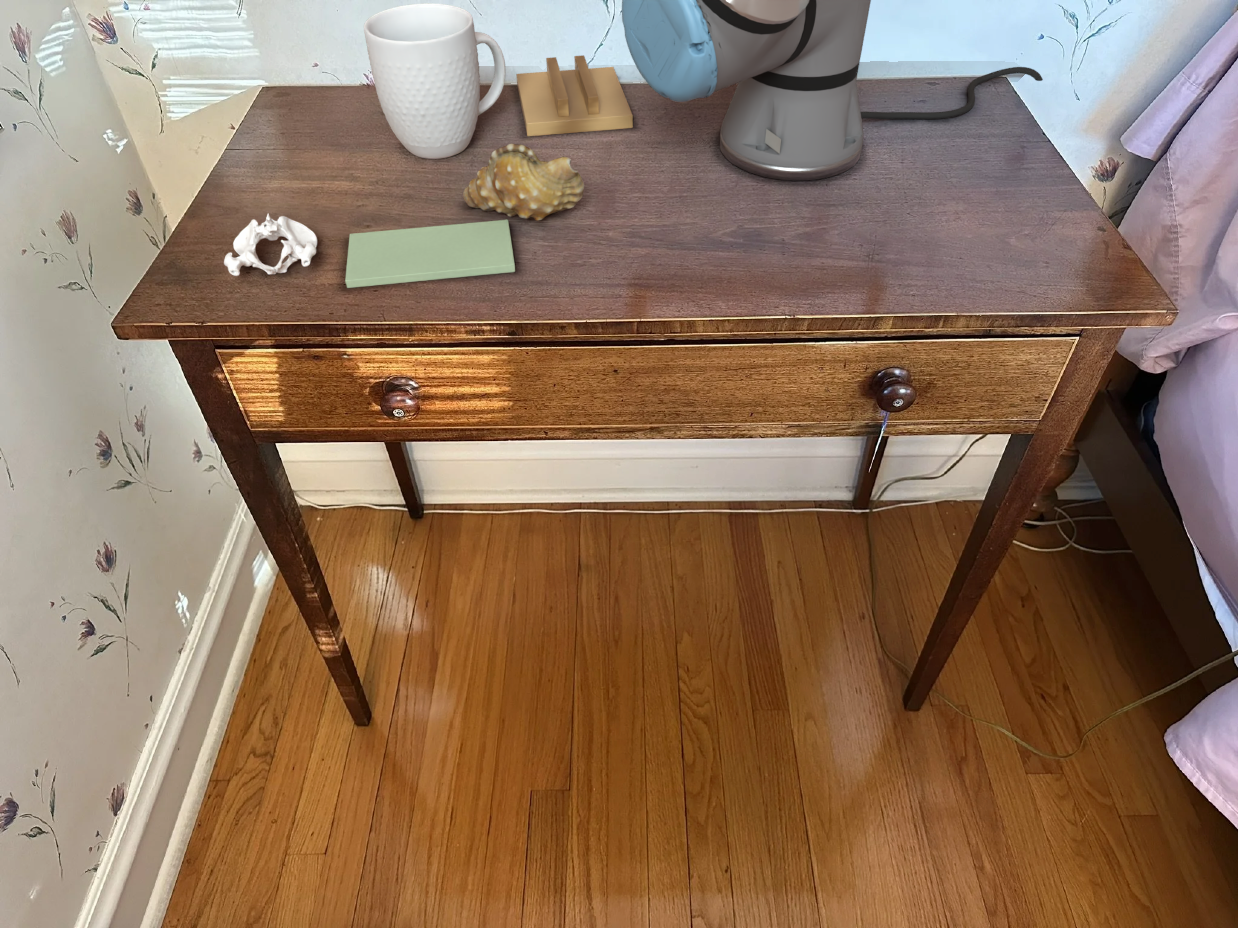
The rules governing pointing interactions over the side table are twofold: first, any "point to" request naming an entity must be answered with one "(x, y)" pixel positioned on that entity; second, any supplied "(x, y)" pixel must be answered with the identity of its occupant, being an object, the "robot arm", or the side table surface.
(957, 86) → the side table surface
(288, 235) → the anatomical pelvis
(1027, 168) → the side table surface
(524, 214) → the seashell
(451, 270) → the mat
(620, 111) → the rack
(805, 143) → the robot arm
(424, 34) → the mug
